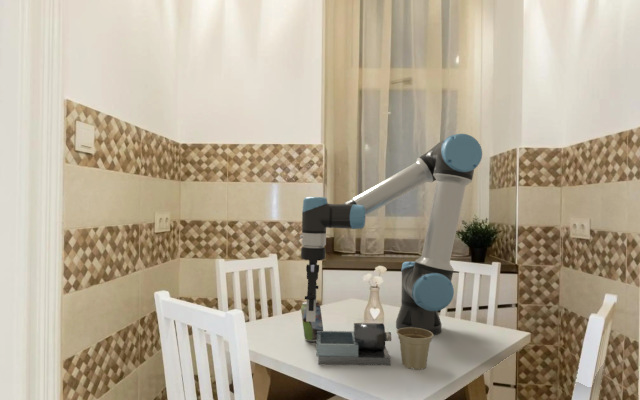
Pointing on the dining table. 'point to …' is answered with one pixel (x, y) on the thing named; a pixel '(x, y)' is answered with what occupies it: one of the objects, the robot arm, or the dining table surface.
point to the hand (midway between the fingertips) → (311, 315)
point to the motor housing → (354, 346)
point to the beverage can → (311, 323)
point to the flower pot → (414, 346)
